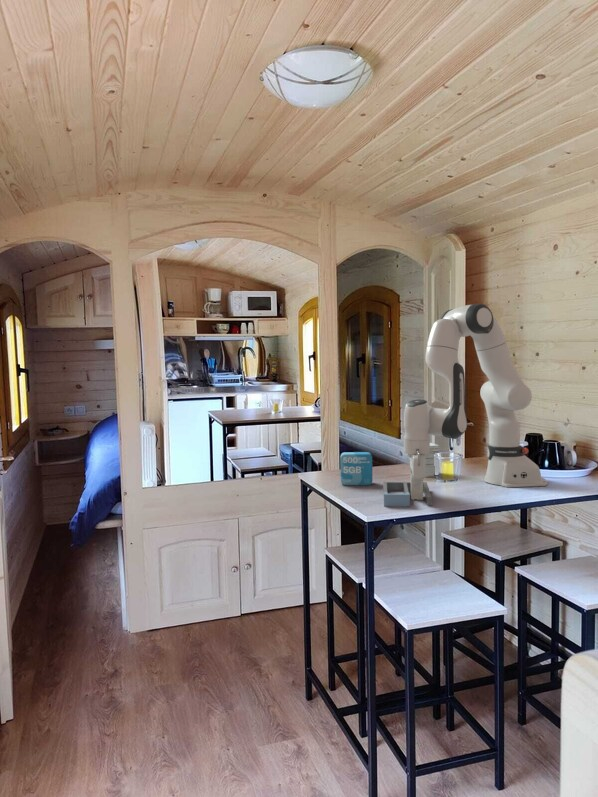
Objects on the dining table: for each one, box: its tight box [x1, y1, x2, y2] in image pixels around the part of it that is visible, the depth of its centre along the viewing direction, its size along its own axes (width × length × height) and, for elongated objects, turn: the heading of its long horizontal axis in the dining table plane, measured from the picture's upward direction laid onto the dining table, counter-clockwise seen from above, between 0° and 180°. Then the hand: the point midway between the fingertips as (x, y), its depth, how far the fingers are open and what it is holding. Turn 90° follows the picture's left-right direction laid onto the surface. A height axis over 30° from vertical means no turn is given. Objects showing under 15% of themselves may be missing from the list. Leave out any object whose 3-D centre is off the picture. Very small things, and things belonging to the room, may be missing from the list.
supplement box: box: [424, 442, 440, 478], centre depth 245 cm, size 7×7×13 cm
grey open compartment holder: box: [382, 481, 433, 508], centre depth 211 cm, size 16×22×4 cm
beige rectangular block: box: [410, 469, 424, 501], centre depth 210 cm, size 4×4×10 cm
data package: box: [339, 451, 373, 486], centre depth 232 cm, size 12×4×12 cm, turn 87°
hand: (416, 486), depth 210 cm, fingers open, 7 cm apart
